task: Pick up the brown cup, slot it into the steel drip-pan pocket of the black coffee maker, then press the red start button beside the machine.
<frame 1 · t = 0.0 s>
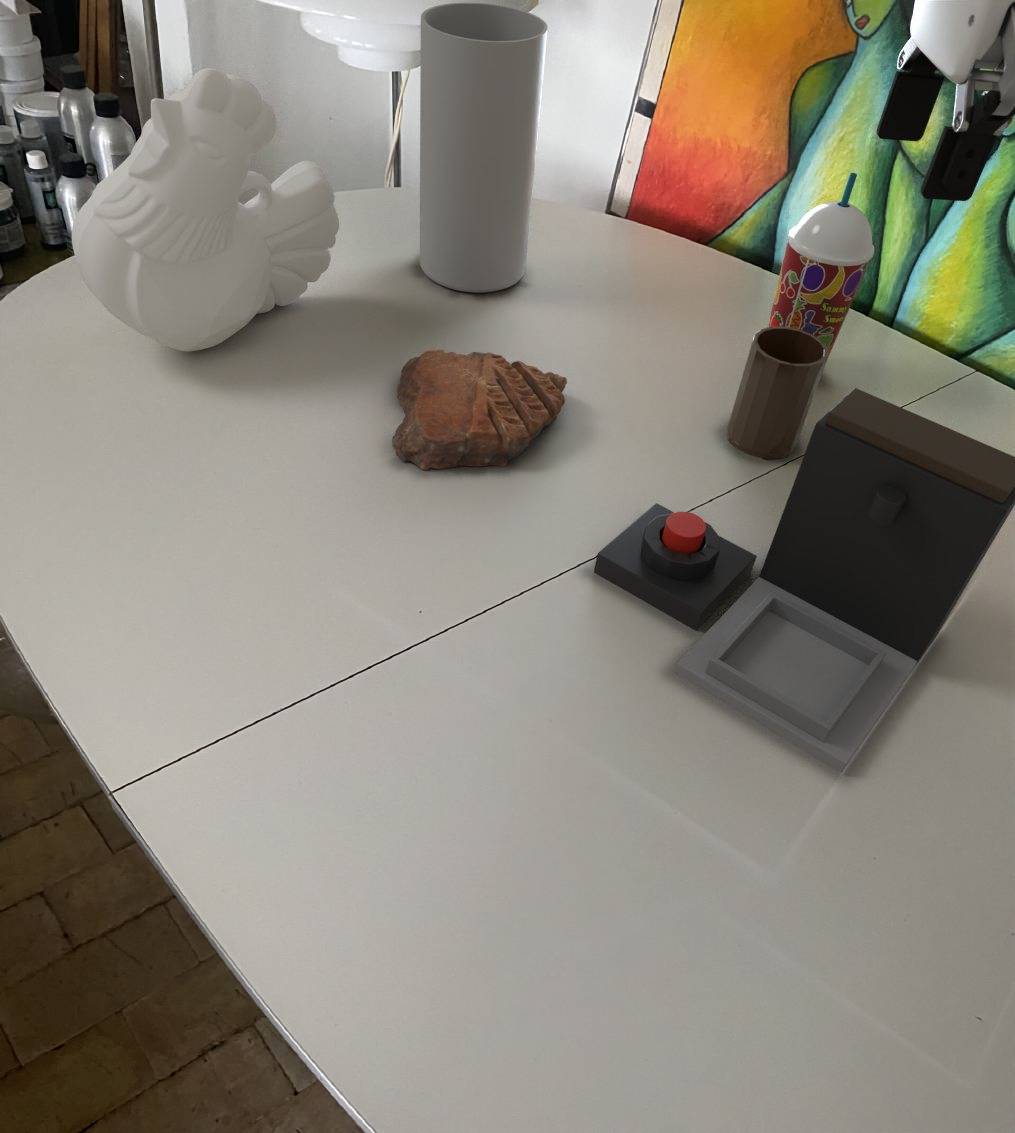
hand: (919, 166, 63), 30 cm above the table, tool pointing down, fingers open, 9 cm apart
coffee maker: (822, 637, 76), on the table
start button: (684, 532, 76), point 5 cm above the table, slide at 0.2 cm
smoothie: (788, 370, 103), on the table
brown cup: (760, 438, 94), on the table
pottery shard: (479, 420, 93), on the table
decorative rooster: (230, 331, 100), on the table
cylinder vase: (472, 271, 113), on the table
control pad: (672, 574, 80), on the table
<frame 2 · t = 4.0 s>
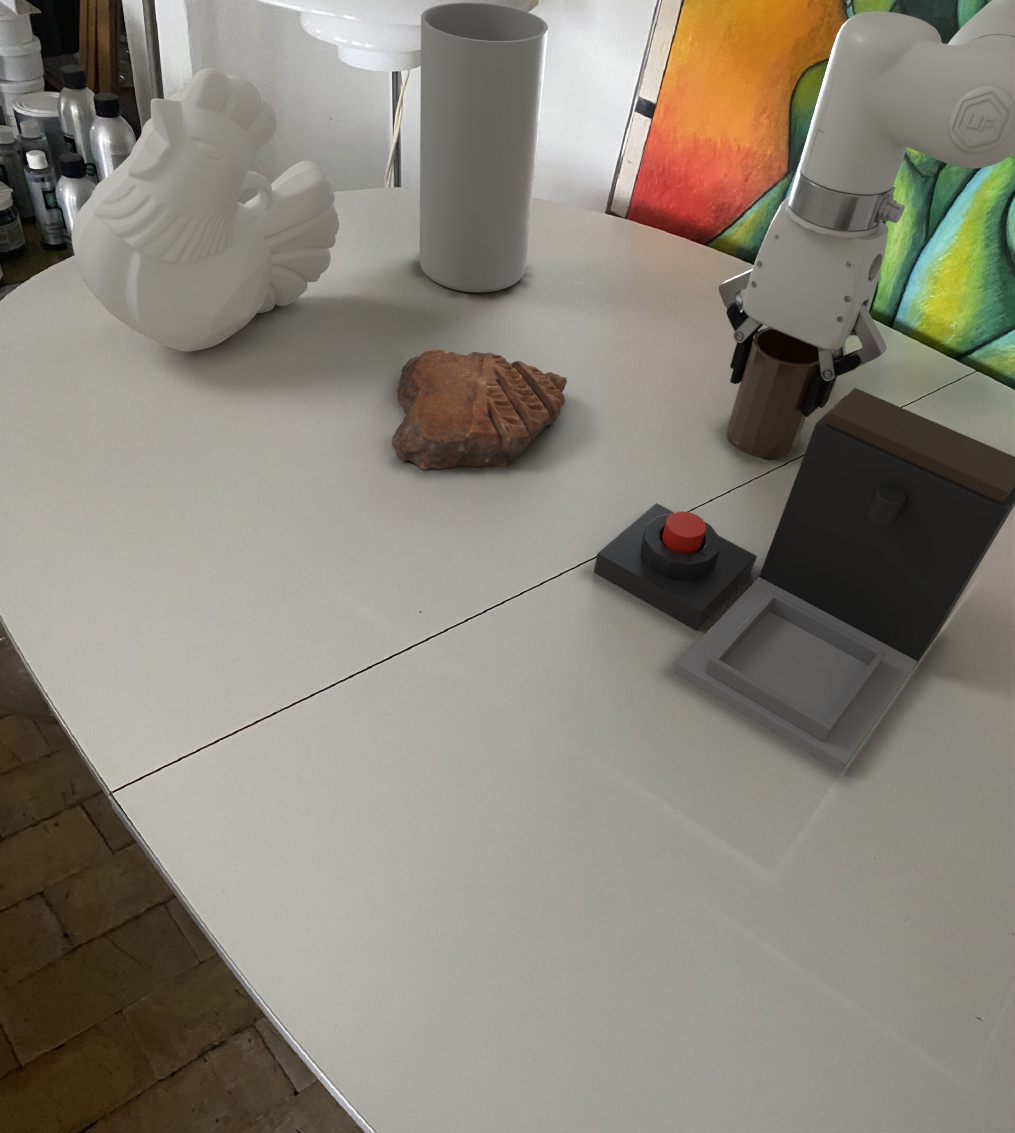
hand: (775, 392, 90), 5 cm above the table, tool pointing down, fingers closed on brown cup, 6 cm apart
brown cup: (760, 438, 94), on the table, touching gripper
everything else where it was.
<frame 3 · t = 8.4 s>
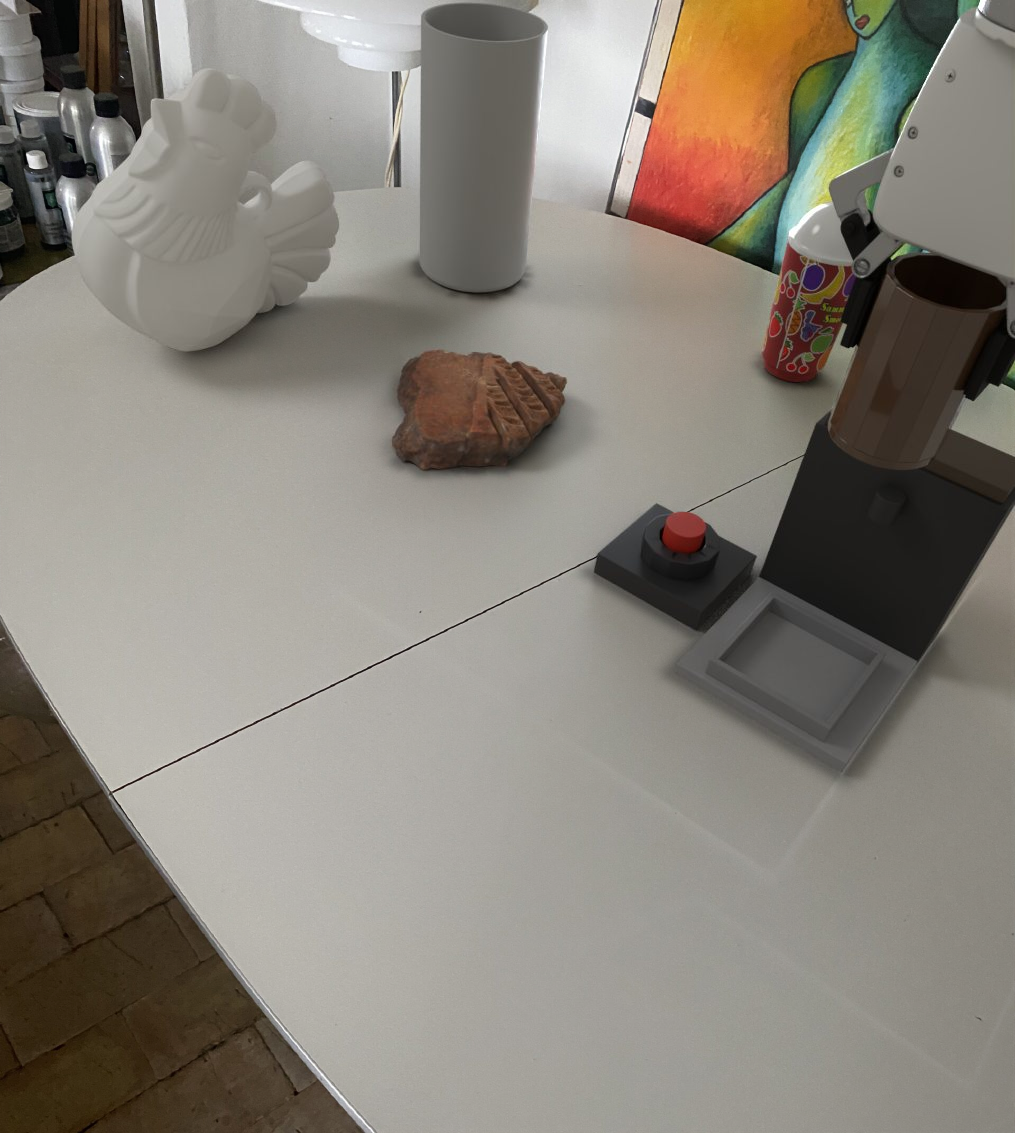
hand: (915, 361, 55), 26 cm above the table, tool pointing down, fingers closed on brown cup, 6 cm apart
brown cup: (882, 437, 59), point 20 cm above the table, touching gripper
everything else where it was.
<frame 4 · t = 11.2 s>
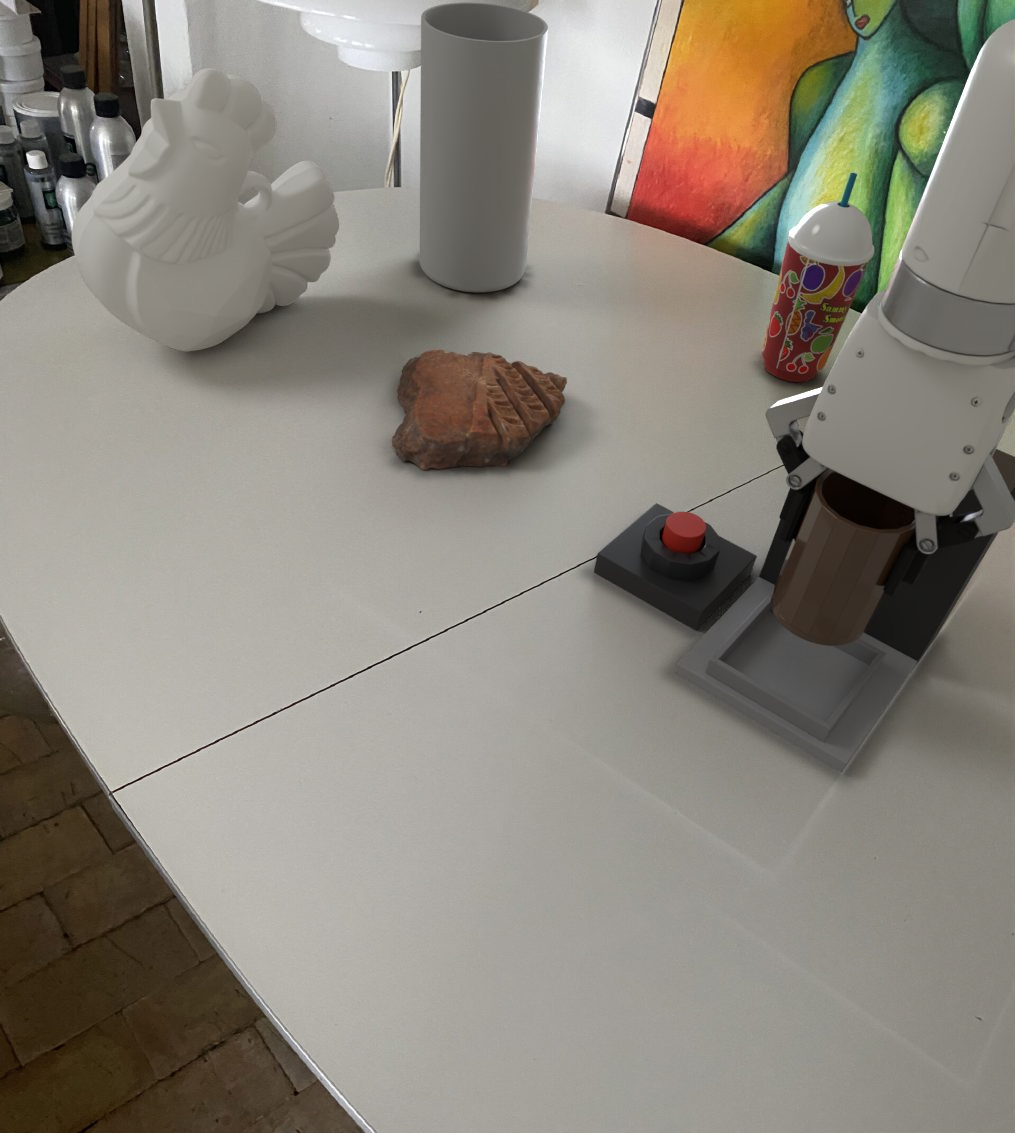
hand: (843, 555, 63), 13 cm above the table, tool pointing down, fingers closed on brown cup, 6 cm apart
brown cup: (818, 611, 67), point 7 cm above the table, touching gripper
everything else where it was.
when the fingers open (6 cm above the table, at t = 13.2 s): brown cup stays where it is, resting on coffee maker.
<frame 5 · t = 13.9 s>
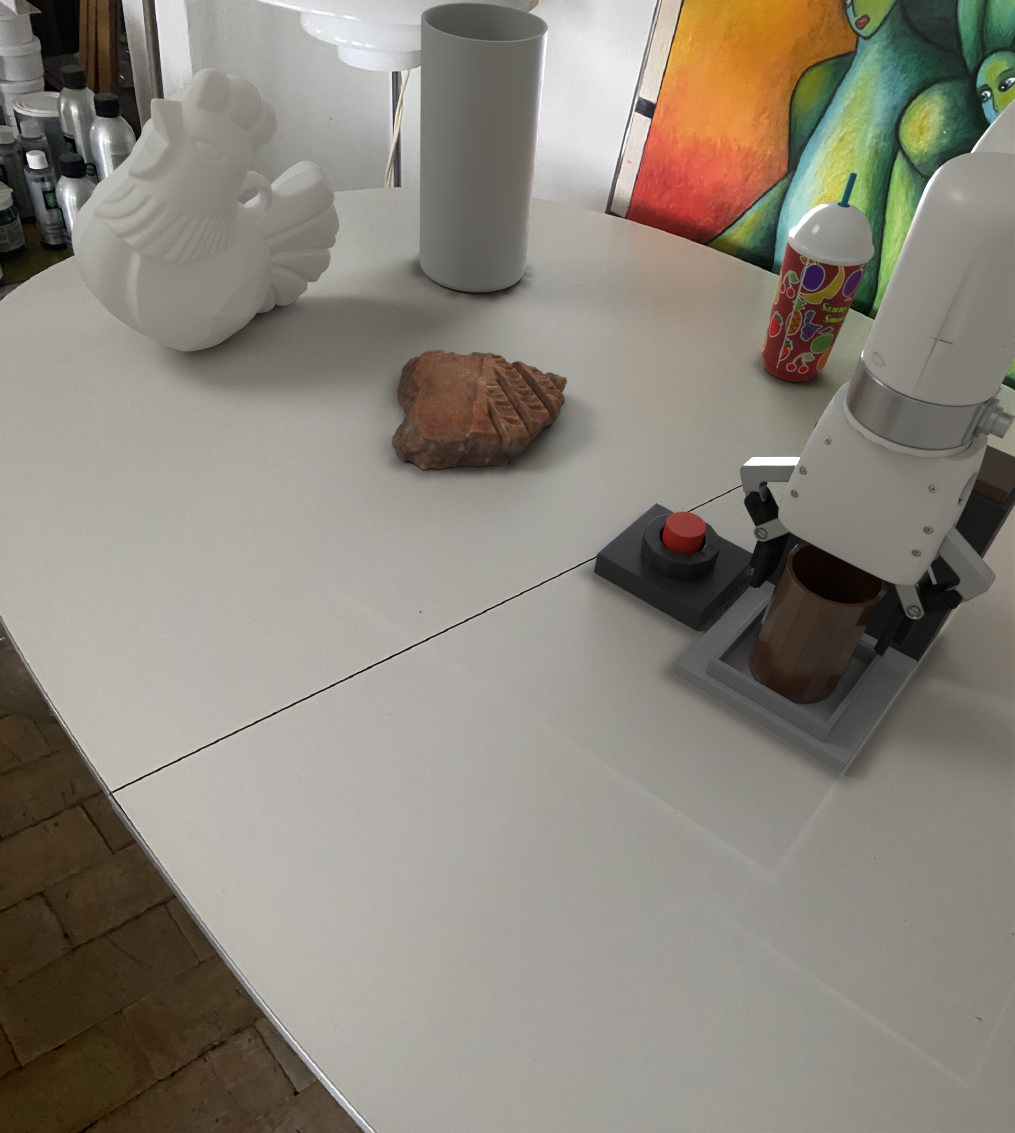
hand: (822, 609, 67), 7 cm above the table, tool pointing down, fingers open, 9 cm apart
brown cup: (793, 669, 72), point 1 cm above the table, touching coffee maker
everything else where it was.
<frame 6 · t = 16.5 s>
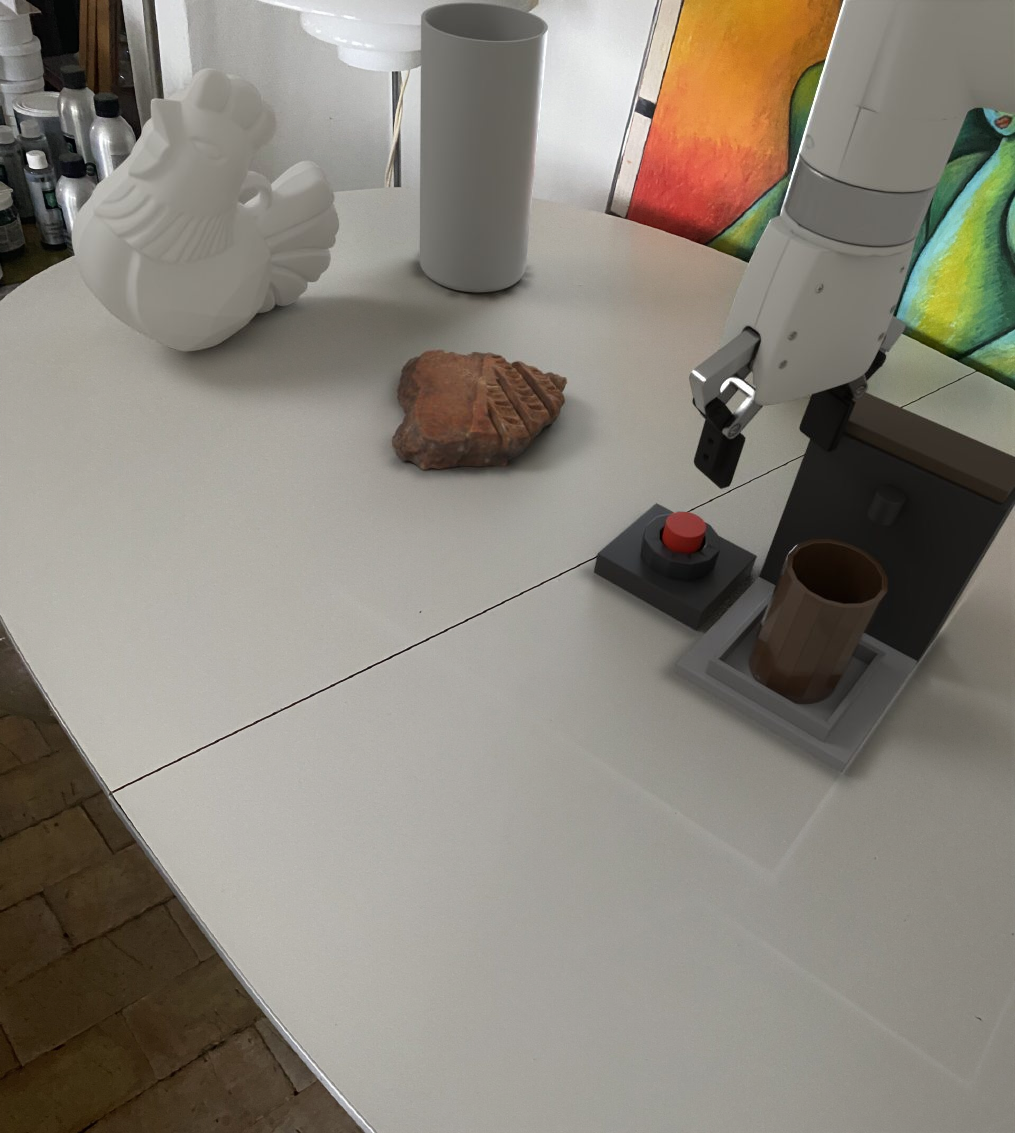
hand: (765, 458, 65), 15 cm above the table, tool pointing down, fingers open, 9 cm apart
nothing on the table moved.
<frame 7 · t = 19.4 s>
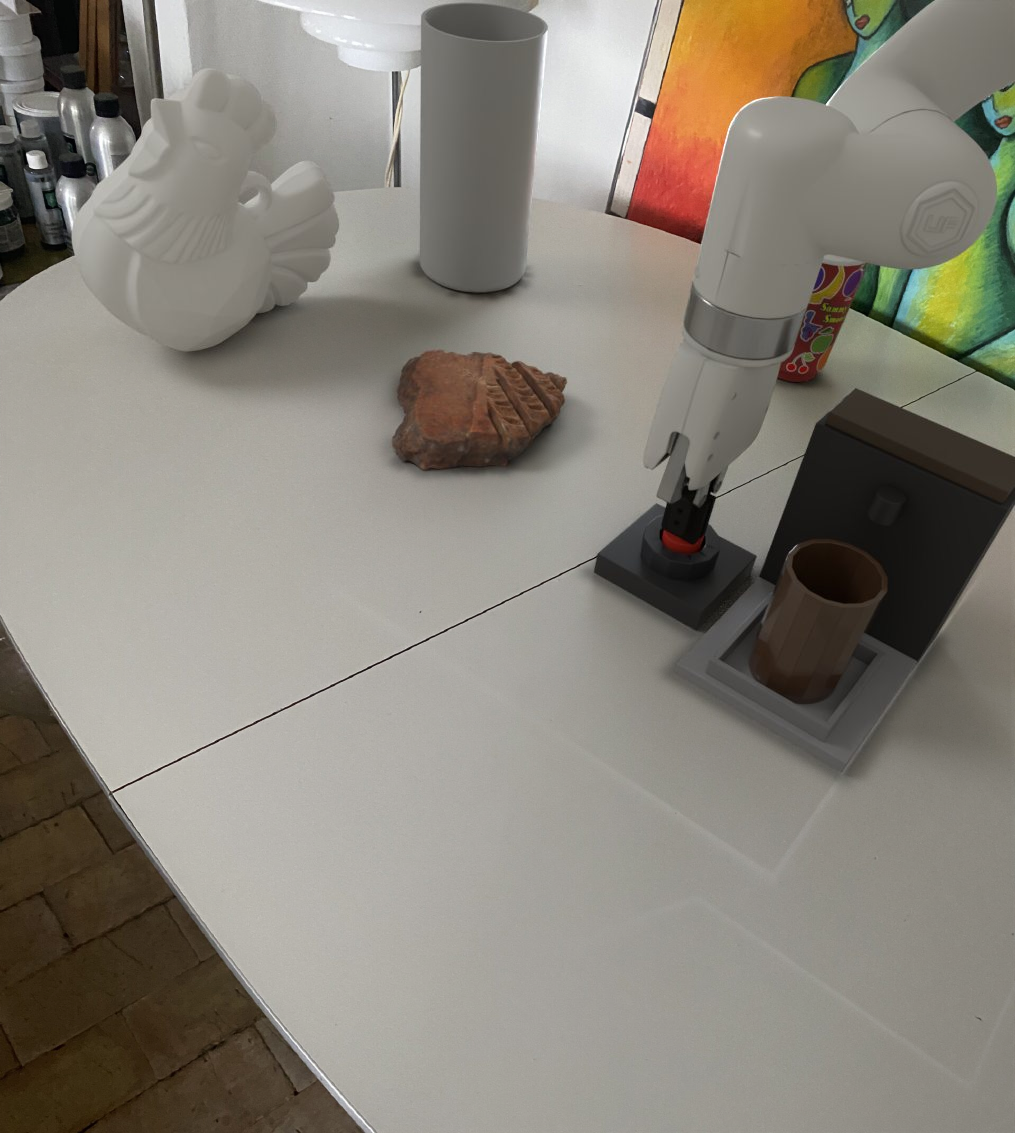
hand: (682, 531, 76), 5 cm above the table, tool pointing down, fingers closed
start button: (681, 540, 77), point 4 cm above the table, slide at -0.7 cm, touching gripper
everything else where it was.
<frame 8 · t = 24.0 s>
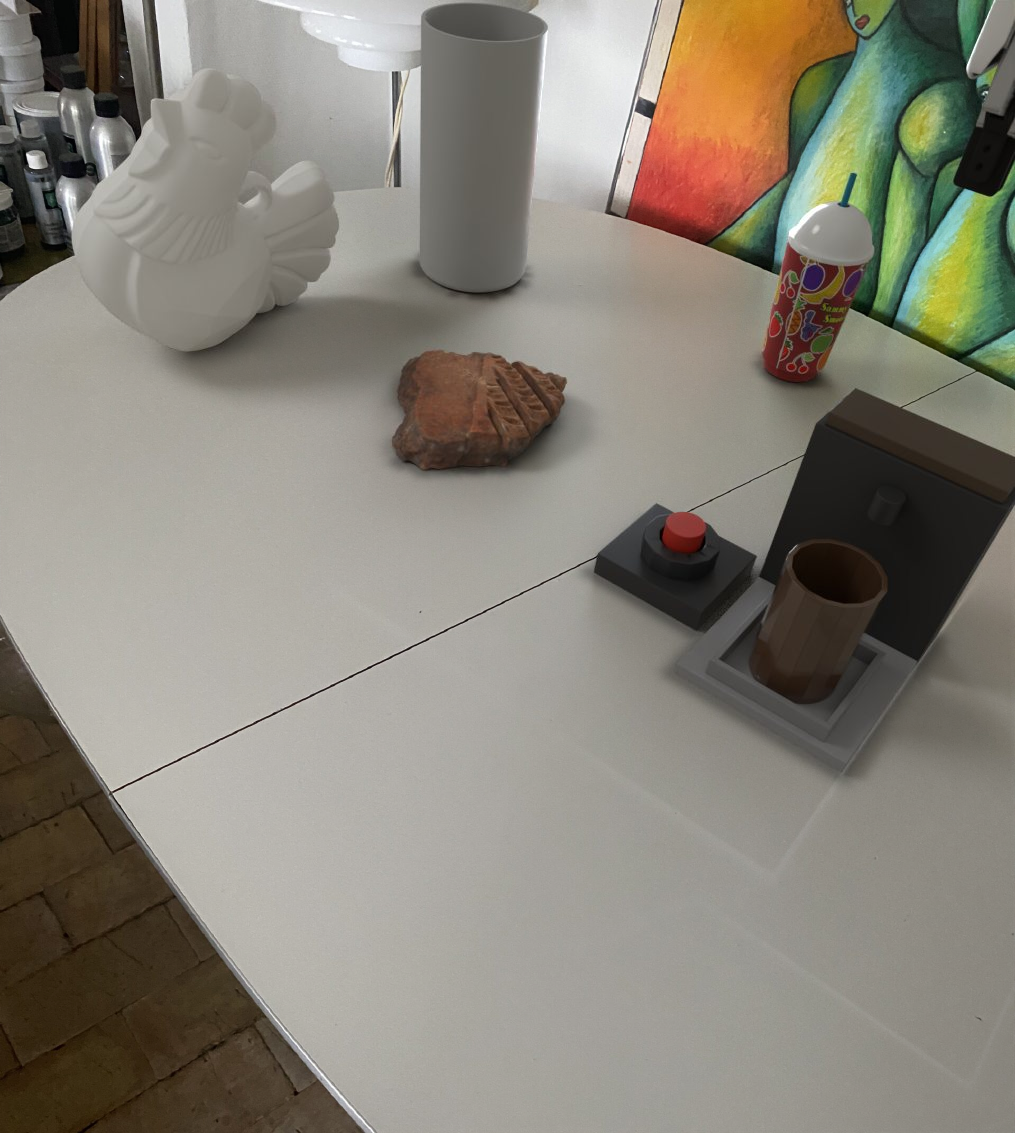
hand: (976, 187, 69), 27 cm above the table, tool pointing down, fingers closed
start button: (683, 532, 76), point 5 cm above the table, slide at 0.1 cm
everything else where it was.
at the end: brown cup 0.0 cm from the target spot on the coffee maker, point 1.2 cm above the coffee maker's base; brown cup tilted 0°; start button pushed in 0.9 cm at the most during the clip, back to where it started at the end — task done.
